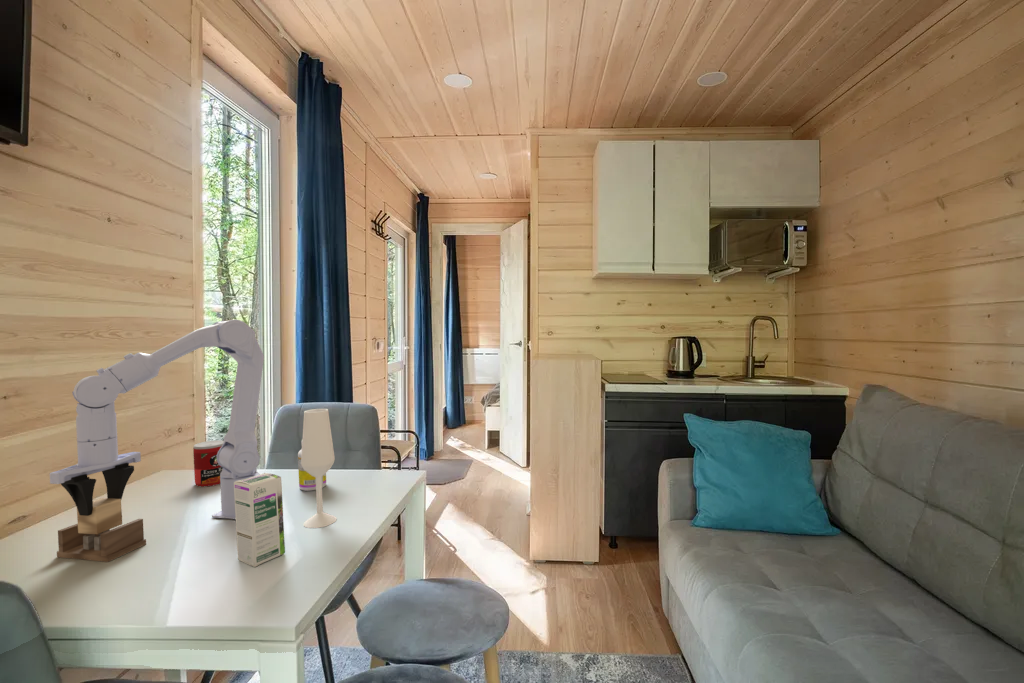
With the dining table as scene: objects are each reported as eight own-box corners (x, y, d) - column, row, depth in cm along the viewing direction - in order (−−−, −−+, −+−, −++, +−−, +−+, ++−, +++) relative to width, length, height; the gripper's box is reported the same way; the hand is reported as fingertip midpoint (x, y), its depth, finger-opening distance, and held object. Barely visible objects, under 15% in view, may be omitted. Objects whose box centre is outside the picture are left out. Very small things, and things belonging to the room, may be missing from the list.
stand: (146, 544, 90) (145, 519, 90) (108, 561, 83) (106, 534, 83) (97, 540, 93) (96, 515, 93) (56, 557, 86) (55, 530, 86)
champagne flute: (340, 522, 98) (336, 410, 98) (305, 530, 94) (301, 414, 94) (333, 512, 104) (329, 406, 103) (300, 520, 100) (296, 410, 100)
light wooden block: (122, 524, 90) (120, 498, 90) (97, 534, 85) (95, 507, 85) (104, 523, 91) (102, 498, 90) (78, 533, 86) (76, 506, 86)
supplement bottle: (317, 481, 127) (315, 435, 126) (331, 485, 123) (329, 438, 122) (294, 488, 121) (292, 440, 121) (307, 493, 117) (306, 443, 117)
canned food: (201, 489, 123) (199, 448, 123) (190, 483, 128) (188, 444, 128) (232, 481, 129) (230, 442, 129) (220, 476, 134) (219, 438, 134)
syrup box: (254, 568, 80) (251, 485, 79) (236, 560, 83) (233, 480, 82) (285, 554, 84) (282, 475, 84) (267, 547, 88) (264, 471, 87)
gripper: (120, 430, 95) (123, 495, 96) (35, 447, 81) (38, 523, 82) (148, 430, 94) (150, 496, 94) (66, 448, 80) (69, 526, 80)
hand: (100, 509), depth 88 cm, fingers closed on light wooden block, 4 cm apart
